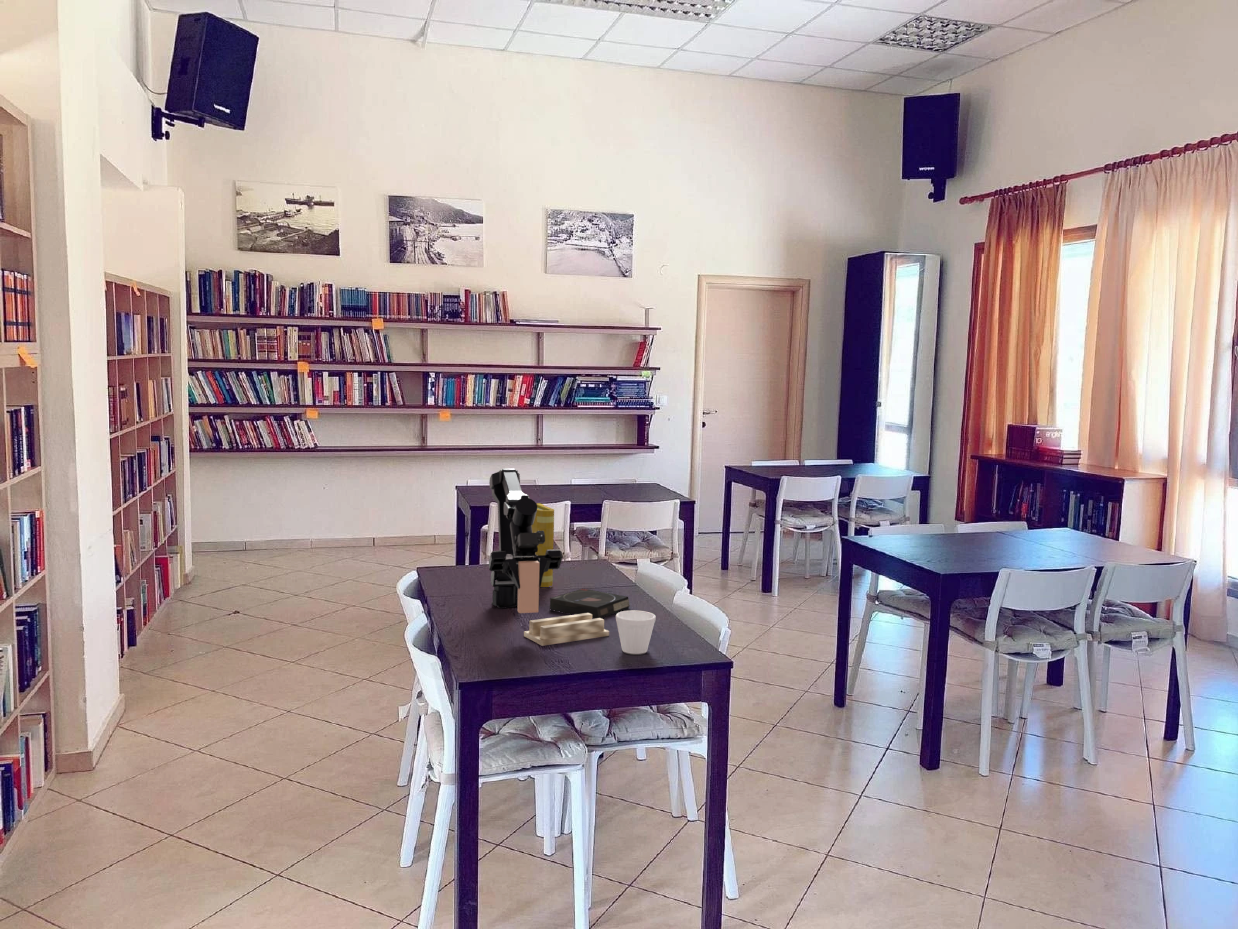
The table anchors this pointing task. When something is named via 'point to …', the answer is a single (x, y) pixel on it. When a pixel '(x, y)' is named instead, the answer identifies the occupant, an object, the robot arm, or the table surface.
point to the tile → (528, 586)
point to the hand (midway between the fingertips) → (529, 587)
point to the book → (546, 524)
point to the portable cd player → (589, 603)
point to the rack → (565, 629)
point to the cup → (635, 630)
